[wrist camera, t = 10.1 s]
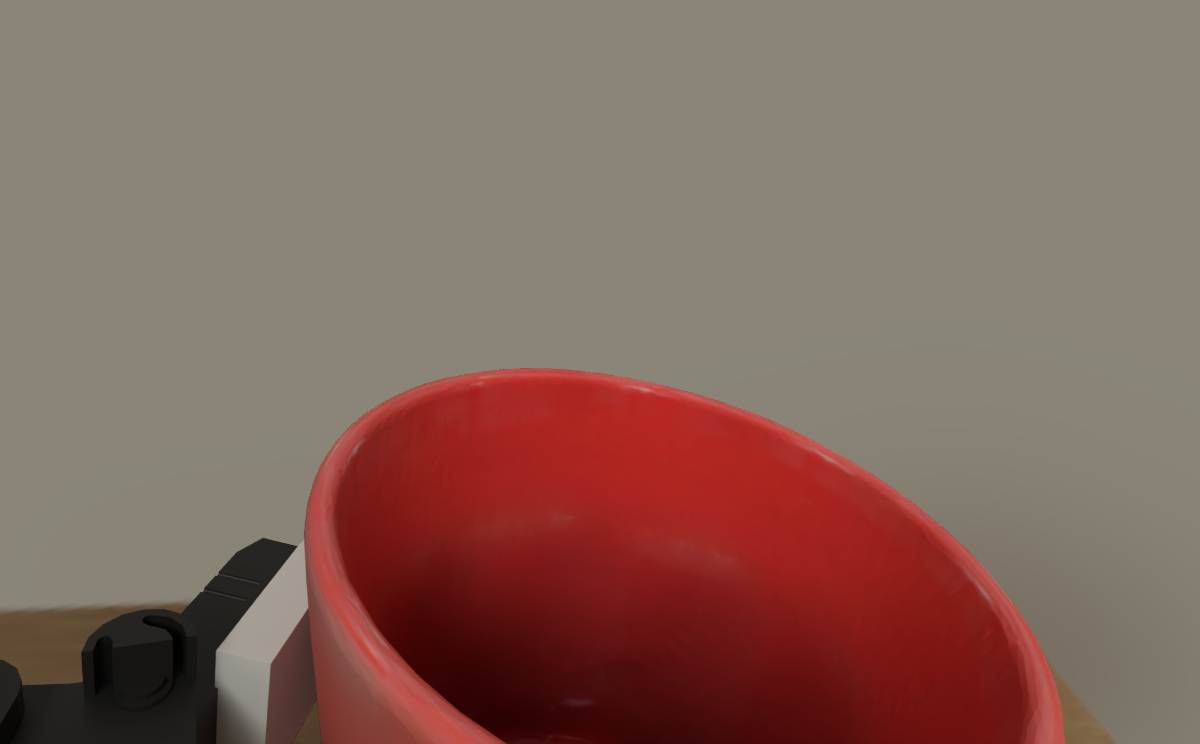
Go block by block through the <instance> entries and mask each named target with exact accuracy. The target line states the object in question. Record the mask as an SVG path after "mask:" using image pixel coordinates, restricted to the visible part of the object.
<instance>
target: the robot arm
mask: <svg viewBox="0 0 1200 744" xmlns="http://www.w3.org/2000/svg"><path fill="white" fill-rule="evenodd" d="M81 656H82V672H83V682H80V683H72V684H47V685H22V681H21V678H20V675H19V673H18V670H17V668H15V667H14V666H12V665H10V664H9V663H7V662H6V661H4V660H0V744H292V743H293V741H294V739H295V737H296V736H297V734H298V732H299V730H300V728H301V727H302V725H303V723H304V721H305V719H306V718H307V716H308V714H309V712H310V710H311V709H312V707H313V705H314V703H315V702H316V700H317V691H316V680H315V671H314V661H313V652H312V642H311V633H310V621H309V608H308V596H307V584H306V566H305V547H304V539H303V540H302V542H301V543H300V544H299V546H294V545H290V544H286V543H282V542H277V541H273V540H269V539H265V538H262V539H260V540H258V541H257V542H255V543H253V544H251V545H249V546H247V547H246V548H244V549H242V550H240V551H238V552H237V553H236V554H235V555H234V556H233V557H232V558H231V560H229V561H228V562H227V564H226V565H225V566H224V567H223V568H222V569H221V570H220V571H219V574H218V576H215V577H214V578H213V579H212V580H211V581H210V583H209V584H208V585H207V586H206V587H205V588H204V591H203V592H200V594H199V595H198V596H197V597H196V598H195V599H194V600H193V601H192V602H191V603H190V605H189V606H188V607H187V608H186V609H185V610H184V611H183V612H182V613H181V614H180V613H176V612H172V611H169V610H165V609H149V610H140V611H136V612H132V613H128V614H124V615H121V616H119V617H117V618H115V619H113V620H111V621H109V622H107V623H105V624H103V625H102V626H101V627H100V628H99V629H98V630H96V631H95V632H94V633H93V634H92V635H91V636H90V637H89V638H88V640H87V642H86V644H85V646H84V648H83V650H82V652H81Z"/></svg>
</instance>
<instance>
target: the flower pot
mask: <svg viewBox="0 0 1200 744" xmlns="http://www.w3.org/2000/svg"><path fill="white" fill-rule="evenodd" d="M304 547H305V566H306V584H307V596H308V608H309V621H310V633H311V642H312V652H313V661H314V671H315V680H316V691H317V701H318V712H319V723H320V733H321V743H322V744H1065V737H1064V721H1063V713H1062V707H1061V702H1060V698H1059V694H1058V691H1057V687H1056V684H1055V680H1054V677H1053V675H1052V673H1051V670H1050V668H1049V665H1048V663H1047V661H1046V659H1045V657H1044V654H1043V652H1042V650H1041V648H1040V646H1039V644H1038V642H1037V640H1036V638H1035V636H1034V635H1033V634H1032V631H1031V630H1030V628H1029V626H1028V624H1027V623H1026V621H1025V620H1024V619H1023V617H1022V615H1021V614H1020V613H1019V611H1018V609H1017V608H1016V607H1015V605H1014V604H1013V602H1012V601H1011V600H1010V599H1009V597H1008V596H1007V595H1006V594H1005V592H1004V591H1003V590H1002V589H1001V587H1000V586H999V585H998V584H997V582H996V581H995V580H994V579H993V577H992V576H991V575H990V574H989V573H988V571H987V570H986V569H985V568H984V567H983V566H982V565H981V564H980V563H979V561H978V560H977V559H976V558H975V557H974V556H973V555H972V554H971V553H970V552H969V551H968V550H967V549H966V548H964V547H963V546H962V545H961V544H960V543H959V542H958V541H957V540H956V539H955V538H954V537H953V536H952V535H951V534H949V532H947V531H946V530H945V529H944V528H943V527H942V526H940V525H939V524H938V523H937V522H936V521H934V520H933V519H932V518H931V517H930V516H928V515H927V514H926V513H925V512H924V511H922V510H921V509H920V508H919V507H917V506H916V505H915V504H913V503H912V502H911V501H909V500H908V499H906V498H905V497H904V496H902V495H901V494H900V493H898V492H897V491H896V490H895V489H893V488H892V487H890V486H889V485H887V484H886V483H884V482H883V481H881V480H880V479H878V478H877V477H876V476H874V475H873V474H871V473H869V472H868V471H866V470H864V469H863V468H861V467H860V466H858V465H856V464H855V463H853V462H852V461H850V460H848V459H846V458H845V457H843V456H841V455H839V454H837V453H836V452H834V451H832V450H830V449H828V448H826V447H824V446H822V445H820V444H818V443H816V442H815V441H813V440H811V439H809V438H807V437H805V436H803V435H801V434H799V433H797V432H795V431H793V430H791V429H788V428H786V427H784V426H782V425H780V424H778V423H775V422H773V421H771V420H769V419H766V418H764V417H762V416H759V415H756V414H754V413H751V412H749V411H746V410H742V409H740V408H737V407H734V406H731V405H728V404H725V403H723V402H720V401H717V400H713V399H709V398H707V397H704V396H701V395H697V394H694V393H691V392H687V391H683V390H679V389H675V388H671V387H668V386H663V385H658V384H654V383H650V382H645V381H639V380H635V379H630V378H624V377H618V376H613V375H607V374H601V373H590V372H583V371H574V370H565V369H532V368H520V369H503V370H495V371H485V372H478V373H472V374H466V375H460V376H455V377H449V378H444V379H441V380H437V381H433V382H430V383H426V384H423V385H421V386H418V387H415V388H413V389H410V390H408V391H406V392H403V393H401V394H399V395H397V396H394V397H392V398H391V399H389V400H387V401H385V402H383V403H382V404H380V405H378V406H377V407H375V408H374V409H372V410H371V411H369V412H367V413H366V414H365V415H363V416H362V417H361V418H359V419H358V420H357V421H356V422H355V423H353V425H351V426H350V427H349V428H348V429H347V430H346V431H345V432H344V433H343V435H342V436H341V437H340V438H339V439H338V440H337V441H336V443H335V444H334V446H333V447H332V449H331V450H330V451H329V453H328V454H327V456H326V457H325V459H324V461H323V462H322V464H321V466H320V468H319V471H318V473H317V475H316V477H315V480H314V483H313V486H312V490H311V493H310V497H309V500H308V504H307V511H306V520H305V531H304Z"/></svg>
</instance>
